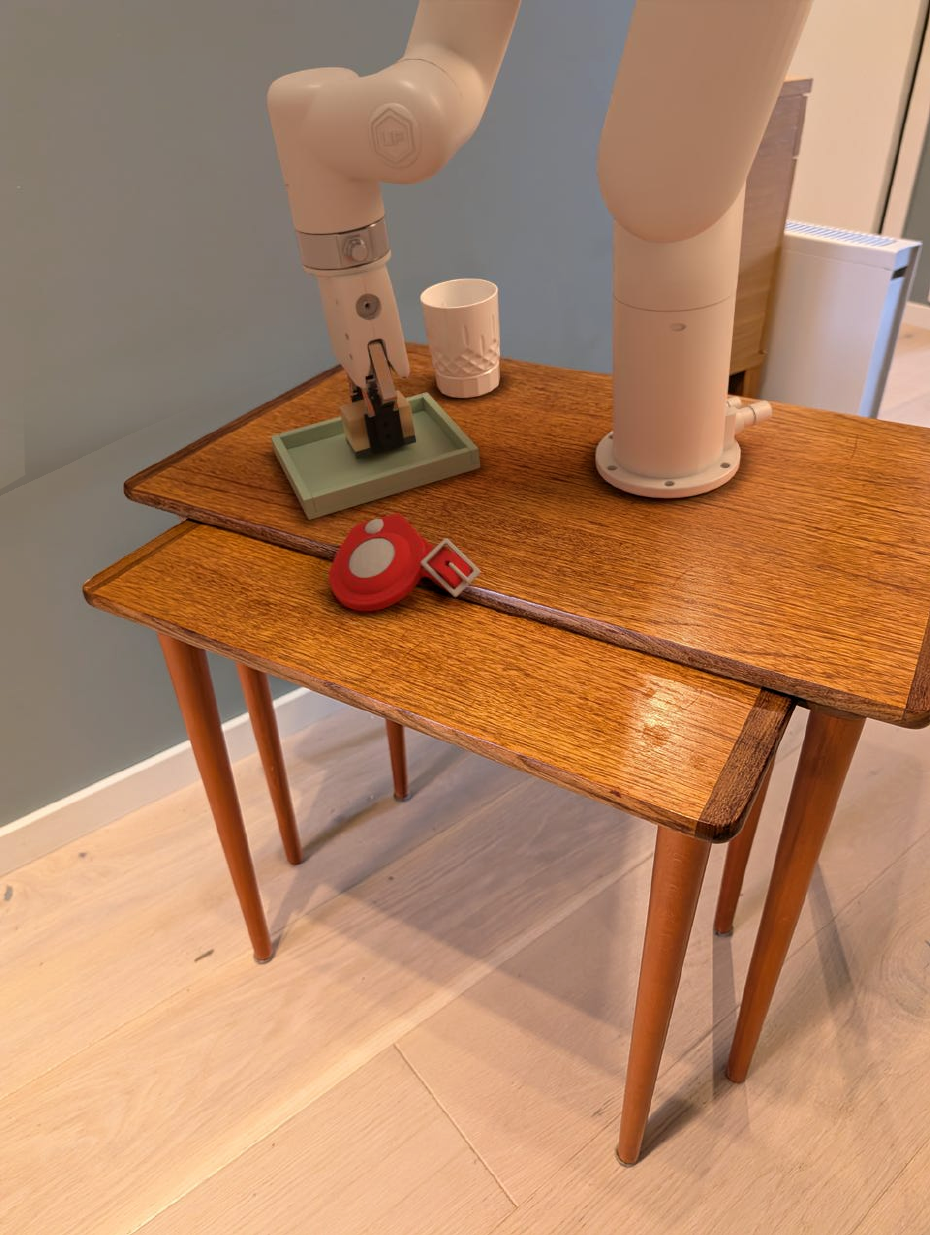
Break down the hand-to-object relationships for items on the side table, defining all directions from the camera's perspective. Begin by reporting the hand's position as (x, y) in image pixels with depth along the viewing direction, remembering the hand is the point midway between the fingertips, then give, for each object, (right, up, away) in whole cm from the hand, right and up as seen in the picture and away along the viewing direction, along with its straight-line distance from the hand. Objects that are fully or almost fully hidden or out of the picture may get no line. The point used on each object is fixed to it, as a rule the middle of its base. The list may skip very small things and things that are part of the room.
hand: (380, 437), depth 86 cm
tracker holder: (+3, -15, -15) cm, 22 cm away
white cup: (+9, +8, +11) cm, 16 cm away
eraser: (0, 0, 0) cm, 1 cm away
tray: (-1, -2, 0) cm, 2 cm away
